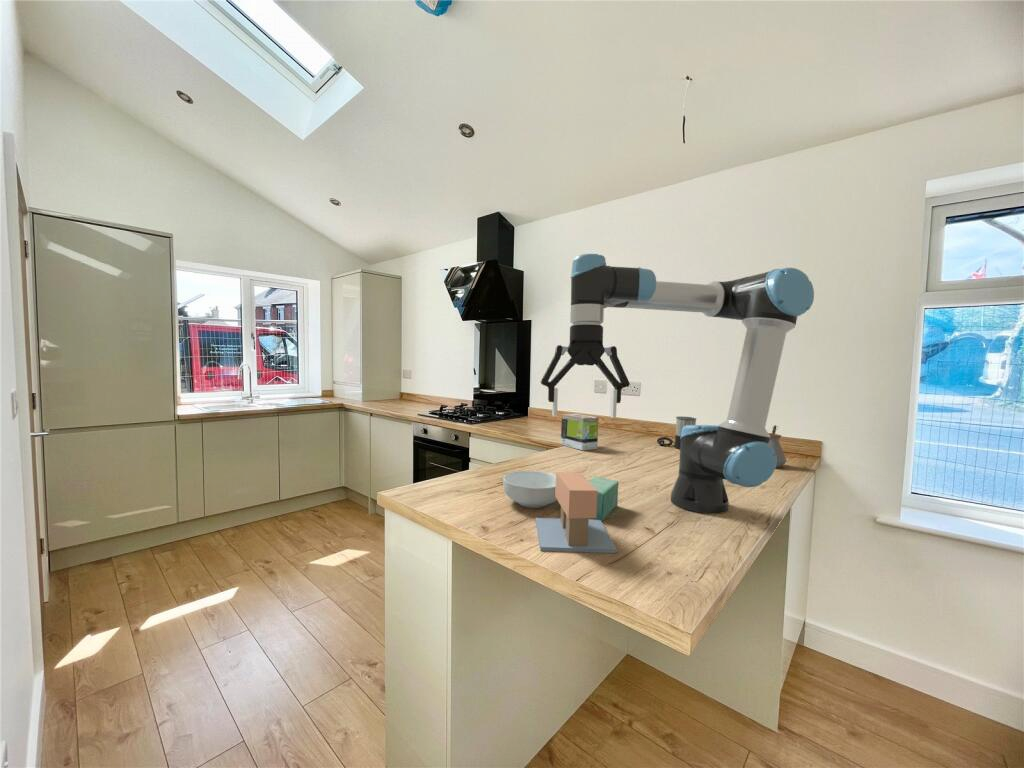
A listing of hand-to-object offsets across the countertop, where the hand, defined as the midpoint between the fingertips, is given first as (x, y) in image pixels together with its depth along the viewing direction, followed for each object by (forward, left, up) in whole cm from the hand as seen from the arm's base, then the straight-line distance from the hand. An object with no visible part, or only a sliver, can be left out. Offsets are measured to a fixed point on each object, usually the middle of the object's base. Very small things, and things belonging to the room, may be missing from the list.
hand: (583, 416), depth 97 cm
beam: (+2, +3, -20) cm, 20 cm away
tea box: (-16, -96, -27) cm, 101 cm away
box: (-7, -14, -27) cm, 31 cm away
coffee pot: (-93, -75, -27) cm, 123 cm away
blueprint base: (+2, +3, -27) cm, 27 cm away
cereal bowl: (+10, -18, -27) cm, 34 cm away
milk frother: (-64, -103, -27) cm, 124 cm away
